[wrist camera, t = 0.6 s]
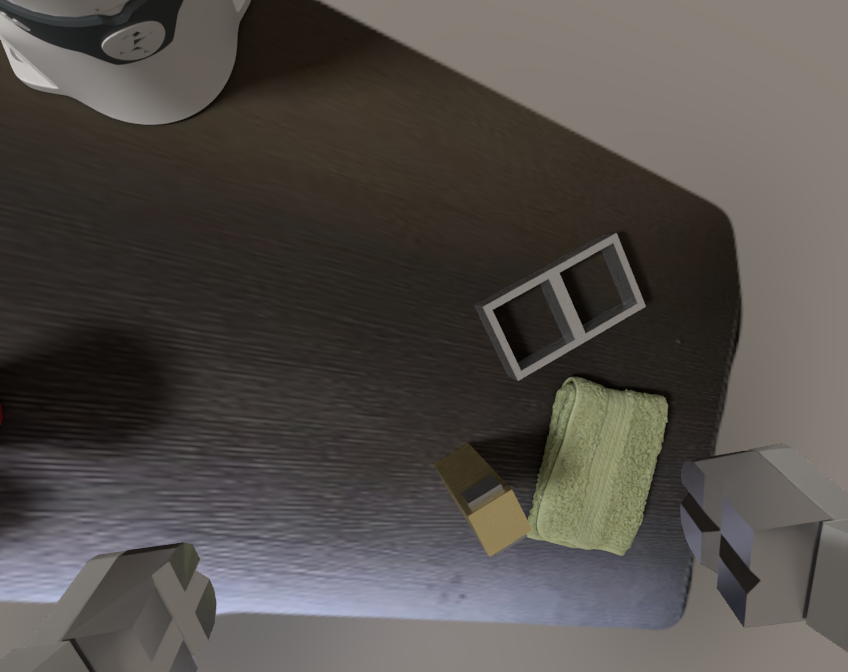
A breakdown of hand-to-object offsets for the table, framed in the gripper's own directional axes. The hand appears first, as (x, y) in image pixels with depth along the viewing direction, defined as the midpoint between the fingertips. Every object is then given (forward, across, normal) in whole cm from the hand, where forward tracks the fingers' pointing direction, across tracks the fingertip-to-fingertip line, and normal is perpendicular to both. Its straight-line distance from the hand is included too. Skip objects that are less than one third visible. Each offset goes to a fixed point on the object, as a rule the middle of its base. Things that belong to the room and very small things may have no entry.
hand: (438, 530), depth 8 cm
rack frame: (+40, -12, +12) cm, 44 cm away
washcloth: (+38, -14, +30) cm, 50 cm away
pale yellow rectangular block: (+34, 0, +26) cm, 43 cm away
